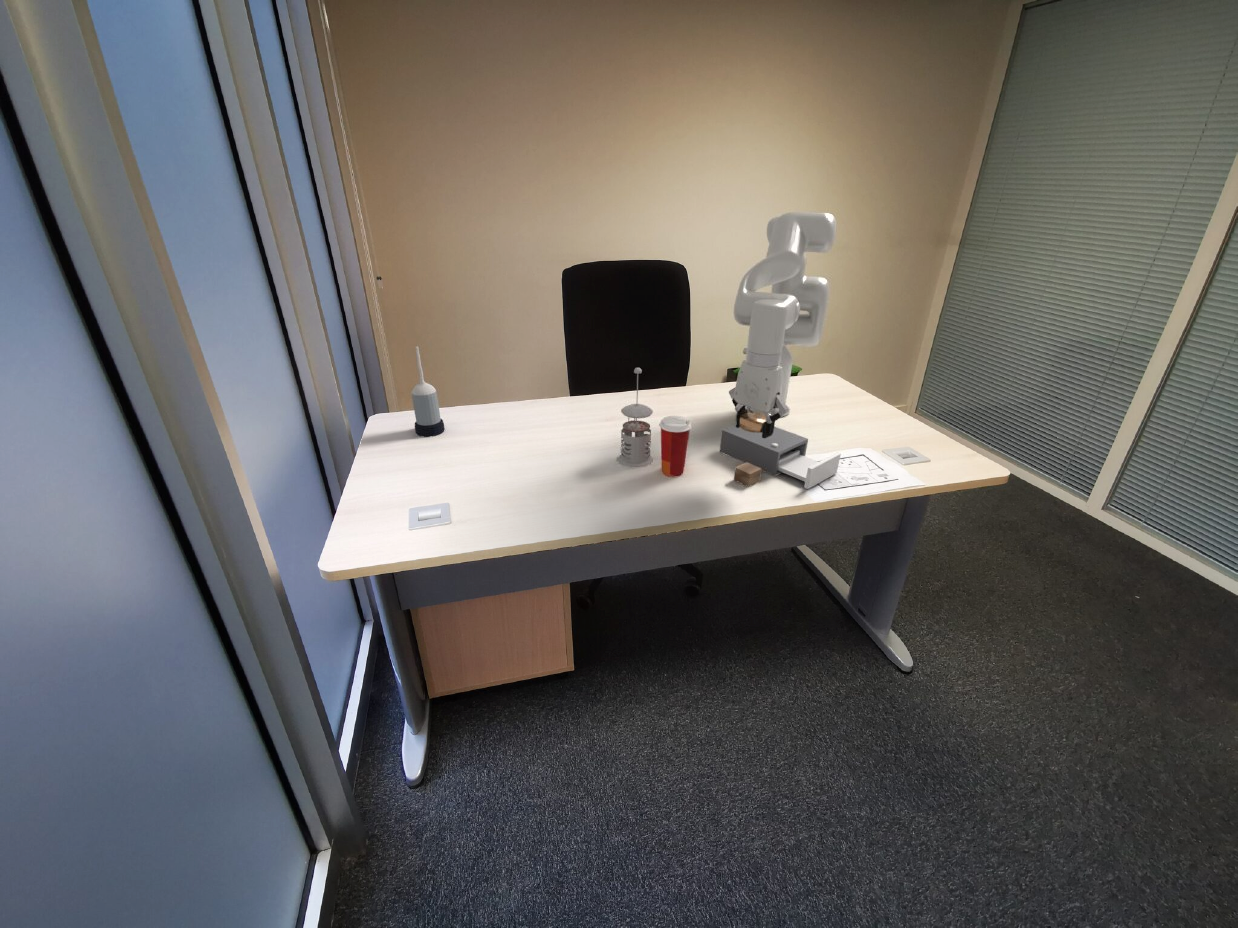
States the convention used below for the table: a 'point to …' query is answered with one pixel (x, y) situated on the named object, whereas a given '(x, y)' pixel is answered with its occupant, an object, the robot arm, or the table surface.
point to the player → (761, 447)
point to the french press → (636, 435)
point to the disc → (752, 422)
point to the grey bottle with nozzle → (426, 407)
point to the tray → (808, 467)
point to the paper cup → (674, 444)
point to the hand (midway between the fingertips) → (753, 430)
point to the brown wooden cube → (747, 474)
